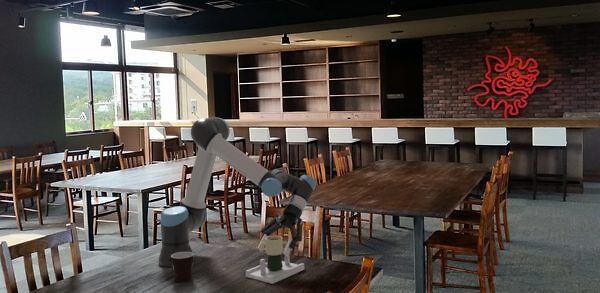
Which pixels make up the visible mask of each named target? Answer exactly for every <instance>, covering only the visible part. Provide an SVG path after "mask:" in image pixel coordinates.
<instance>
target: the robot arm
mask: <svg viewBox="0 0 600 293" xmlns="http://www.w3.org/2000/svg"><path fill="white" fill-rule="evenodd" d="M230 133H231V130H230V126H229V124H228V122H227V121H226V120H225V119H223V118H220V117H216V116H211V117H205V118H199V119H198V120H197V119H196V121H194V123H193V124H192V126H191V128H190V135H191V138H192V141H193V142H194V143H195V144H196V146H197V148H198V149H197V152H196V157H195V161H194V163H193V167H192V170H191V171H192V172H191V175H190V178H189V182H188V186H187V190H186V192H185V193H186V195H185V196H184V197H183V198H182V199H181V200H180V203H179V206H172V207H169V208H165V209H164V210H163V211H162V212H161V213H160V219H159V222H160V232H161V233H160V234H161V248H160V252H159V256H158V265H159V266H161V267H164V268H165V267H166V268H173V265H172V259H171V255H172V254H175V253H178V252H191V253H193V262H194V261H195V255H194V252H193V249H192V247H191V244H190V233H192V232H193V231H195V230H198V229H199V228H201V227H202V226H203V225H204V223H206V220H207V216H208V214H207V210H206V209H207V208H206V207H207V204H206V202H205V199H206V195H207V191H208V188H209V185H210V180H211V177H212V173H213V169H214V165H215V163H216V159H217V158H219V159H220V160H222V161H223V162H225V163H226V164H227V165H229V167H231V168H233V169H234V170H236V171H237V172H239V173H240V174H241V175H243V176H244V177H245V178H247V179H248V180H250V182H252V183H253V184H255V185H256V186H258V187H259V188H261V192H262V194H263V195H264V196H266V197H270V198H272V197H277V196H278V195H280V194H281V193H283V192H285V193H287V194H288V193H289V194H291V195H290V197H289V199H288V201H287V203H286V204H285V207H284V209H283V211H282V215H281V216H279V214H275V215H274V216H273V218H271V220H270V221H269V222H268V223H267V224H266V225H265V226H263V228H261V230H260V232H261V233H262V236H261V238H260V240H259V243H258V246H257V249H258V250H259V251H261V252H263V251H262V250H261V243H265V238H266V237H268V236H272V234H274V233H275V232H277V231H278V230H280V229H288V230H289V232H290V236H291V238H290V239H289V240H288V241H287V242H288V244H287V246H286V248H285V250H283V253H282V254H283V255H284V257H285V256H286V257H288V255H289V256H290V253H291V251H292V250H293V249H294V247H295V245H296V243H298V242H299V243H301V242H302V241H303V225H304V223H305V222H304V221H303V219H302V218H301V216H302V215H303V212H304V211H305V209H306V206H307V204H308V202H309V200H310V198H311V197H312V195H313V193H314V190H315V189H316V186H317V181H316V179H315V178H314V177H313V176H312V175H311V176H310V175H306V174H303V175H301V176H300V178H299V177H297V176H294V175H293V174H289V173H287V172H284V171H283V170H279V169H278V168H277V169H276V168H275V169H273V170H272V171H270V170H268V169H267V168H265V167H264V166H263V165H261V164H260V163H258V161H255V160H254V159H253V158H251V157H250V156H249V155H247V154H246V153H244V152H243V151H241V150H240V149H239V148H237V147H236V146H235V145H233V144H232V143H230V142H229V141H228V140H227V139H228V138H229V136H230ZM295 225H296V228H295ZM263 248H265V245H263Z"/></svg>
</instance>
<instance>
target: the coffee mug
mask: <svg viewBox="0 0 600 293" xmlns="http://www.w3.org/2000/svg"><path fill="white" fill-rule="evenodd" d="M193 255H194V252H193V253H191V252H178V253H175V254H172V255H171V259H172V265H173V267H172V269H173V275H174V281H175V283H179V282H180V283H179V284H182V283H188V282H191V281H192V278H193V264H194V261H193Z"/></svg>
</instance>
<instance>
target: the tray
mask: <svg viewBox="0 0 600 293" xmlns="http://www.w3.org/2000/svg"><path fill="white" fill-rule="evenodd" d="M267 262H268V261H267ZM267 262H266V259H265V258H261V259H259V265H256V266H255V267H252V268H248V269H247V270H245V277H246V278H249V279H253V280H256V281H261V282H264V283H269V284H276V283H277V282H279V281H282V280H284V279H287V278H289V277H291V276H293V275H295V274H298V273H299V272H302V271H304V270H305V262H304V263H303V262H302V263H299V264H298V263H292V262H290V254H289V255H288V257H286V256H285V255H284V260H282V265H283V267H282V268H281V269H279V270H270V269H268V268H267Z"/></svg>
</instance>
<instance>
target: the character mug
mask: <svg viewBox="0 0 600 293" xmlns="http://www.w3.org/2000/svg"><path fill="white" fill-rule="evenodd" d="M288 242H289V241H284V237H283V236H281V235H269V236H268V237H266V238H265V243H261V250H262V251H261V252H263V251H265V253H266V255H267V268H268V269H270V270H279V269H281V268H282V267H283V265H282V261H283V260H282V256H281V255H282V254H283V252H284V250H285V248H286V246H287V244H288ZM263 245H265V246H264V248H263ZM284 245H285V247H284Z"/></svg>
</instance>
